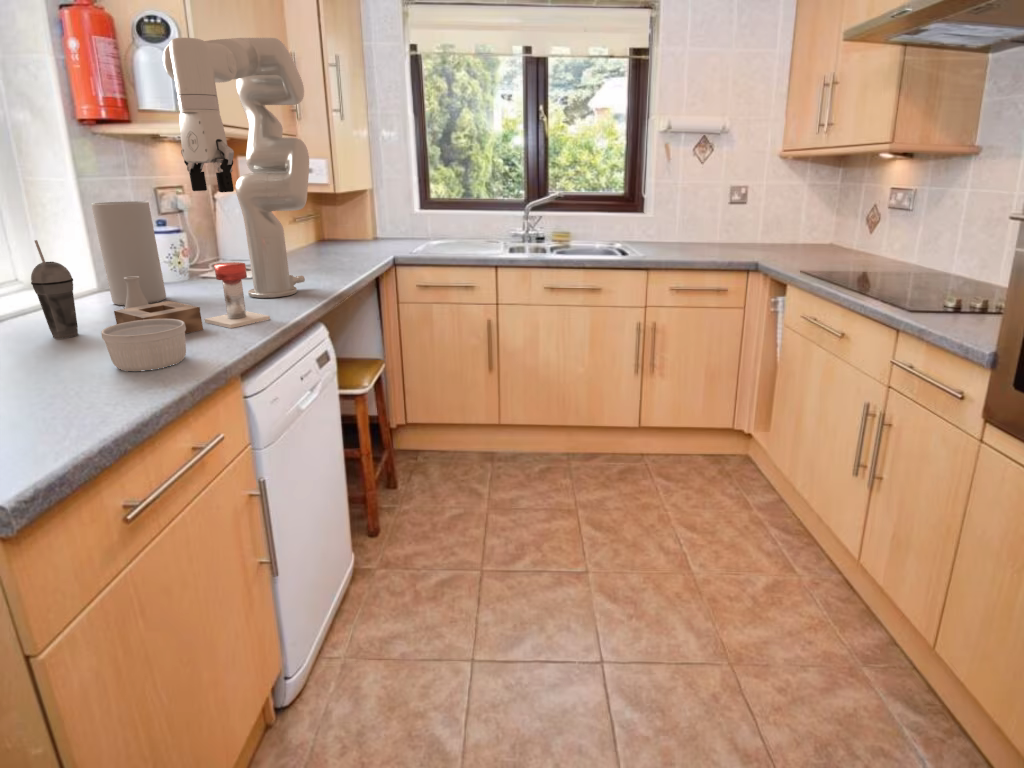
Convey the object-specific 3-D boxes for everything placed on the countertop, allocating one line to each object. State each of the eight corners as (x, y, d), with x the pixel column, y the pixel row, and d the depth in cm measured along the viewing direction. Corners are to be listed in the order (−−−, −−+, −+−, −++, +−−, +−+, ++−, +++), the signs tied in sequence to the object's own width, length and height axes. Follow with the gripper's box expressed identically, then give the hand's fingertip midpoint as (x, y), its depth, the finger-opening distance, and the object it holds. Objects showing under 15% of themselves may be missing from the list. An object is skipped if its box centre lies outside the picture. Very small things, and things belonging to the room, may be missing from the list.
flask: (149, 315, 154) (141, 273, 151) (163, 319, 150) (154, 276, 146) (117, 321, 149) (107, 277, 145) (130, 325, 144) (120, 281, 141)
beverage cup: (93, 333, 137) (71, 238, 131) (56, 342, 131) (31, 242, 125) (74, 329, 141) (52, 236, 134) (38, 337, 135) (12, 240, 128)
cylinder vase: (108, 308, 162) (86, 205, 154) (116, 298, 173) (96, 202, 164) (164, 303, 166) (145, 203, 158) (168, 294, 177) (151, 200, 169)
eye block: (173, 322, 147) (169, 300, 145) (203, 329, 140) (199, 307, 138) (118, 333, 137) (113, 310, 136) (147, 342, 131) (142, 318, 129)
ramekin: (155, 350, 125) (148, 315, 123) (207, 357, 121) (201, 320, 119) (92, 370, 114) (83, 332, 111) (146, 378, 109) (138, 338, 107)
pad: (244, 313, 154) (243, 310, 154) (270, 319, 149) (269, 315, 148) (205, 322, 146) (204, 318, 146) (230, 328, 141) (230, 324, 141)
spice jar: (216, 317, 147) (208, 264, 143) (241, 312, 152) (234, 261, 148) (232, 321, 143) (224, 267, 139) (257, 316, 148) (251, 264, 144)
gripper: (158, 106, 135) (174, 191, 141) (206, 102, 126) (221, 193, 132) (192, 108, 141) (205, 189, 147) (240, 104, 132) (252, 191, 138)
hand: (213, 191), depth 140 cm, fingers open, 9 cm apart
